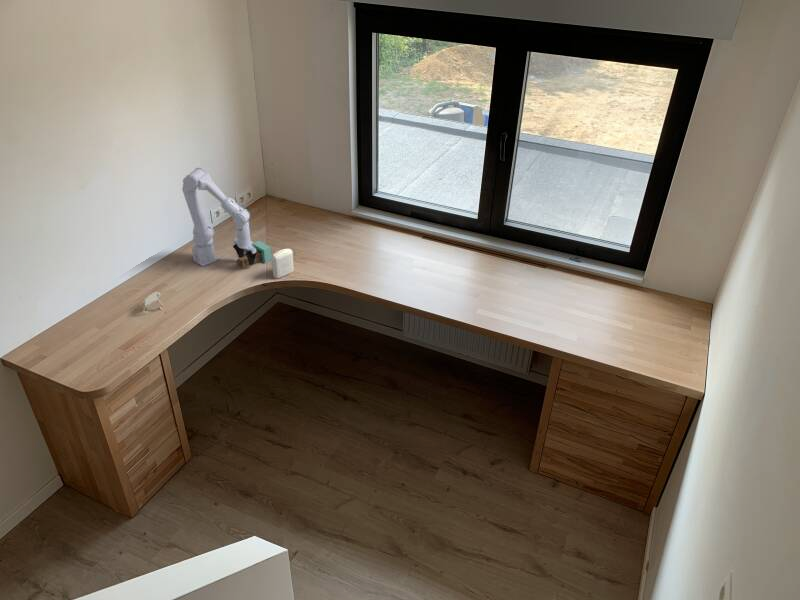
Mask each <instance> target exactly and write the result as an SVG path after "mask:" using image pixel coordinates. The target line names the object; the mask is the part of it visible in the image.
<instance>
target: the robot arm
mask: <svg viewBox="0 0 800 600" xmlns="http://www.w3.org/2000/svg"><path fill="white" fill-rule="evenodd" d="M197 190H199V191H207V192H208V193H209V194H211V196H213V197H214V198H215V199H216V200H217V201H219V202H220V206H221V208H222V209H223V210H224V211H225V212H226V213H227V214H228V215H229V216H231V218H233V219H232V222H233V224H234V225H235V229H236V237H235V238H233V246H232V247H233V249H234V250H235V252H236V254H237V257H238V259H239V258H242V257H244V256H247V258H248V262H249V265H251V266H253V265H255V264H254V260H255V256H256V254H257V253H258V251H257V250H256V249H255V248H254V246H253V245H252V243H253V242H254V241H253V240H252V239H251V232H250V222H249V220H250V218H251V214H250V212H249V210H248V209H246V208H244V207H242V206H240V205H239V204H238V203H237V202H236V201H235V199H233V198H232V197H229V196H226V195H225V193H224V192H223V191H222V190H221V189H220V188H219V187H218V186H217V185H216V183H215V182H214V181H213V180H212V178H211V175H210V174H209V173H208V172H207V171H206V170H205V169H203V168H202V167H196V168H195V169H194V170H192V171H191V172H190V173H189V174H188V175H185V177H184V178H183V179H182V190H181V191H182V193H183V196H184V199H185V202H186V205H187V208H188V210H189V213H190V214H189V215H190V216H191V219H192V223H193V229H192V234H193V238H192V239H193V242H194V244H195V245H194V246H193V247H191V250H192V256H193V257H192V259H193V260H192V261H193V262H195V263H196V264H197V265H199V266H201V267H204V266H206V265H209V264H211V263H215V262H217V261H219V260H220V257H218V256H216V253H215V245H214V244H215V243H214V239H213V237H214V236H215V234H216V233H215V230H214V228H213V227H212V226H211V223H209V222H207V220H206V217H205V214H204V211H203V208H202V205H201V201H200V199H199V196H198V192H197ZM245 250H246V251H245ZM247 250H249V252H248V251H247ZM252 264H253V265H252Z"/></svg>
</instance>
